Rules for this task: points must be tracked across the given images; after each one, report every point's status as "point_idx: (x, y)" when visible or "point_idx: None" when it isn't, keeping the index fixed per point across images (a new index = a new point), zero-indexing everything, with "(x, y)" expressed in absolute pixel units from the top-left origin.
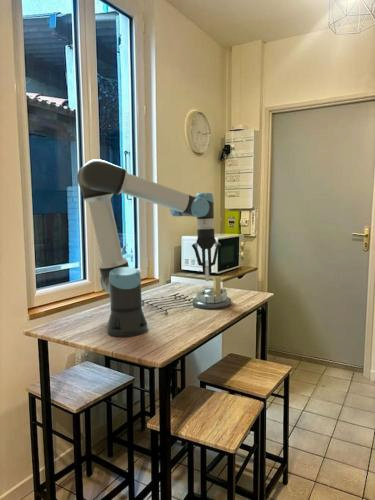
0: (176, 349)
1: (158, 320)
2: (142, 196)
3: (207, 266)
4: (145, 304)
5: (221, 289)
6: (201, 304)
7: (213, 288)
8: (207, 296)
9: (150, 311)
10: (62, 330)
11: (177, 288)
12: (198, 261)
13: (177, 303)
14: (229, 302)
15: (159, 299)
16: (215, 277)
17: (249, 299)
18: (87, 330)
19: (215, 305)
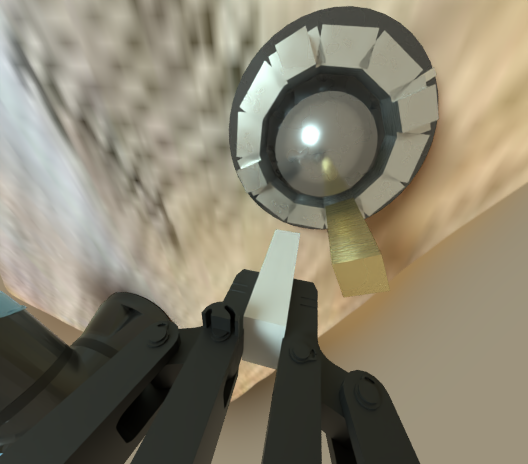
0: (237, 388)
1: (173, 282)
2: None
3: (267, 350)
4: (65, 121)
5: (399, 118)
6: (270, 213)
7: (340, 120)
8: (291, 222)
9: (123, 211)
10: (45, 297)
11: None
12: (133, 410)
13: (171, 111)
14: (400, 191)
15: (68, 20)
16: (343, 295)
17: None
18: (80, 305)
19: (324, 228)
